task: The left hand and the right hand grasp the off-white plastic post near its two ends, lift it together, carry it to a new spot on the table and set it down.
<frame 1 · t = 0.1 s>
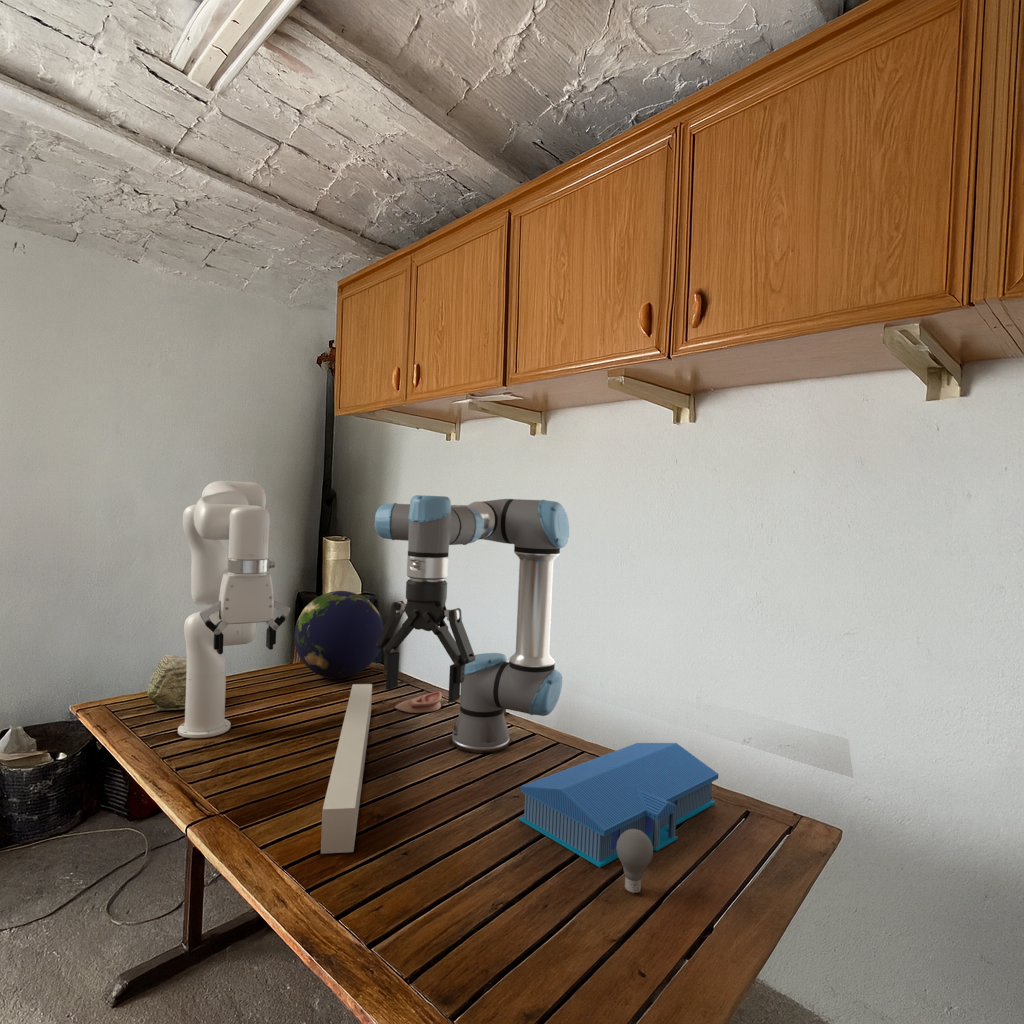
left hand: (245, 650, 130), 31 cm above the table, tool pointing down, fingers open, 9 cm apart
right hand: (422, 694, 117), 28 cm above the table, tool pointing down, fingers open, 13 cm apart
globe: (338, 677, 220), on the table
light bulb: (632, 891, 106), on the table
anatomical model: (418, 707, 193), on the table
model building: (626, 814, 132), on the table
fossil: (183, 706, 185), on the table
post: (352, 764, 150), on the table
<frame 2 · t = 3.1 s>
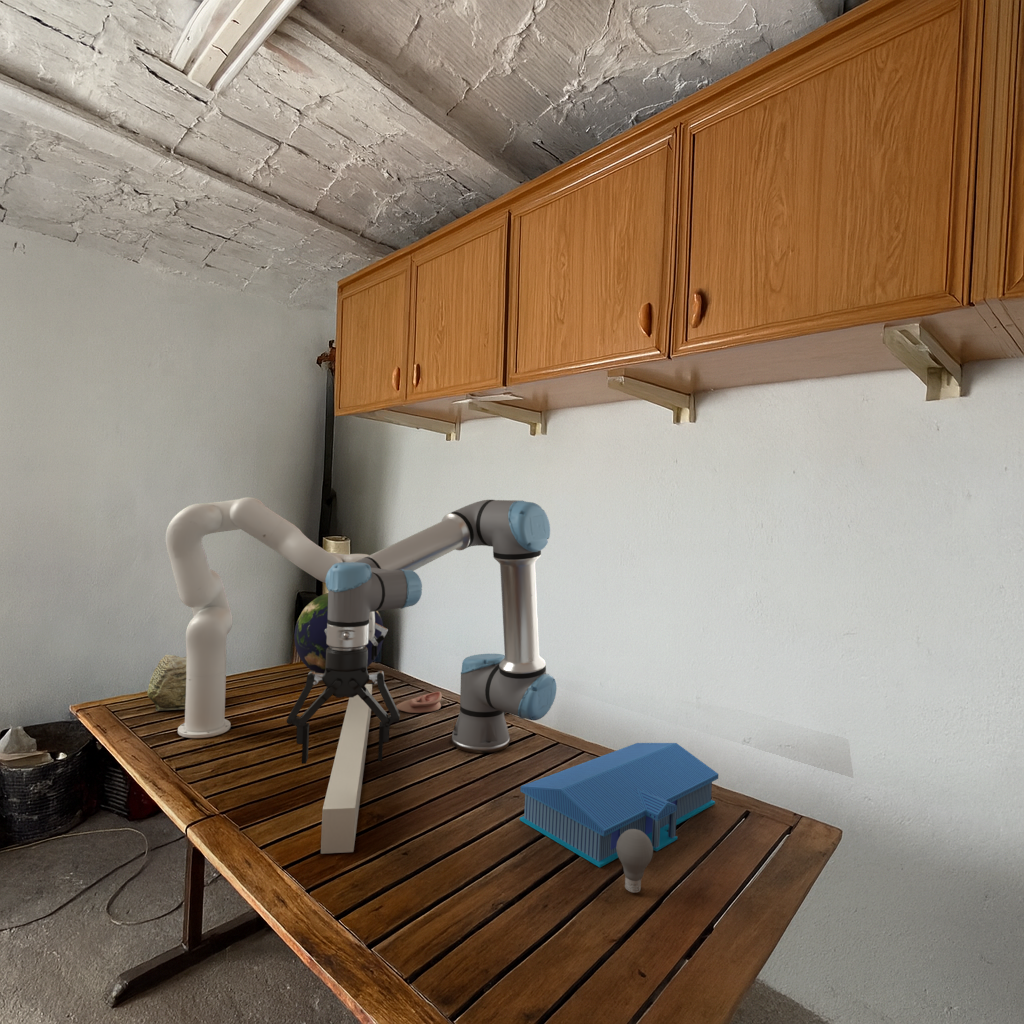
left hand: (355, 659, 177), 18 cm above the table, tool pointing down, fingers open, 9 cm apart
right hand: (342, 759, 118), 15 cm above the table, tool pointing down, fingers open, 13 cm apart
nothing on the table moved.
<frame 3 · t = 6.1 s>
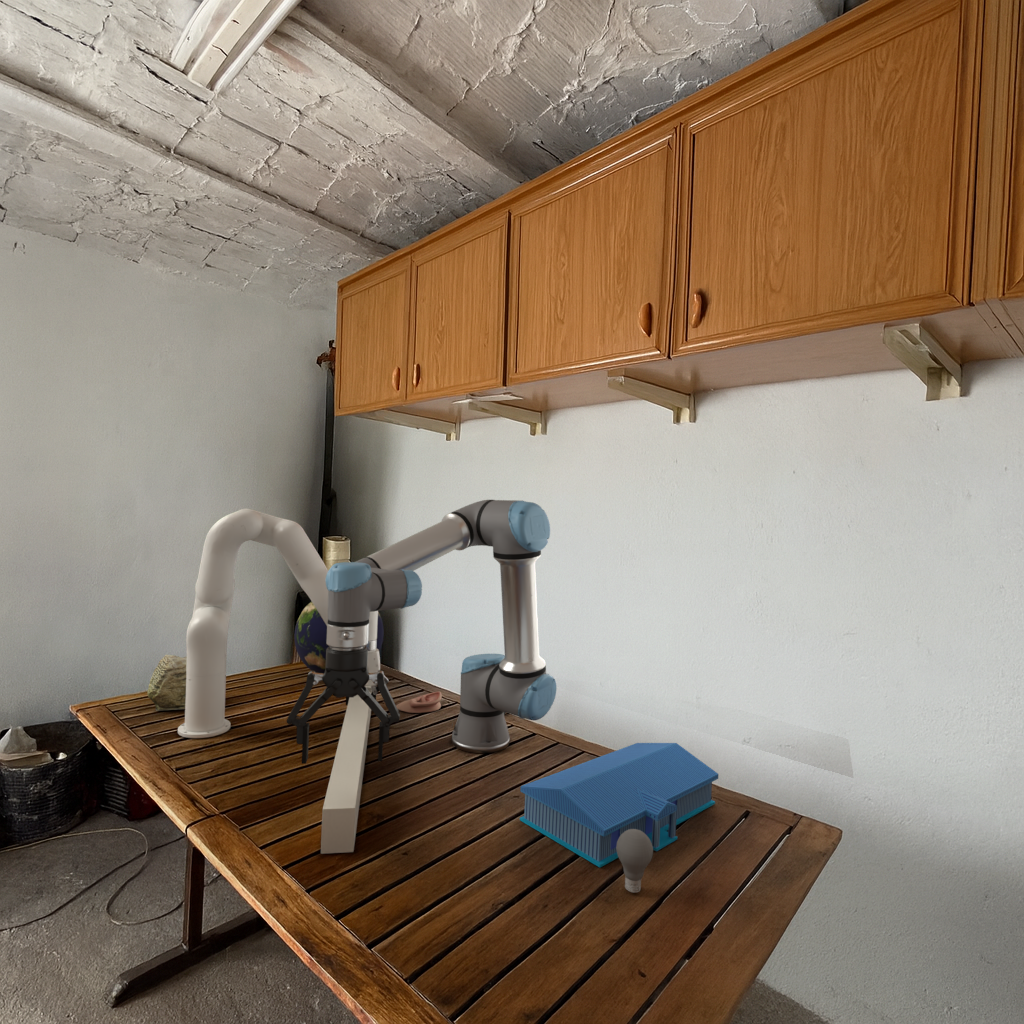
left hand: (360, 706, 183), 3 cm above the table, tool pointing down, fingers closed on post, 5 cm apart
right hand: (342, 759, 118), 15 cm above the table, tool pointing down, fingers open, 13 cm apart
post: (352, 764, 150), on the table, touching left hand
everything else where it was.
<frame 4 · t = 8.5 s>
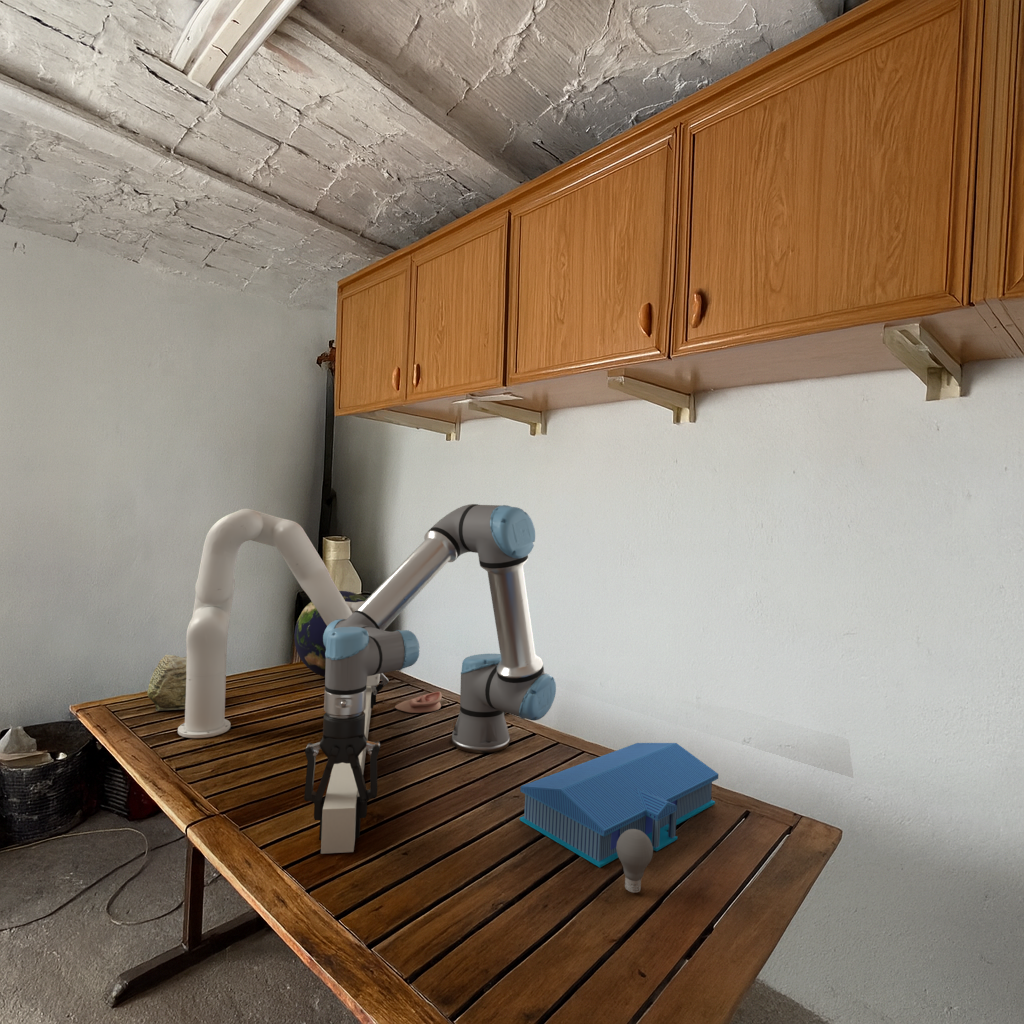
left hand: (360, 706, 183), 3 cm above the table, tool pointing down, fingers closed on post, 5 cm apart
right hand: (339, 834, 118), 1 cm above the table, tool pointing down, fingers closed on post, 6 cm apart
post: (352, 764, 150), on the table, touching left hand, right hand
everything else where it was.
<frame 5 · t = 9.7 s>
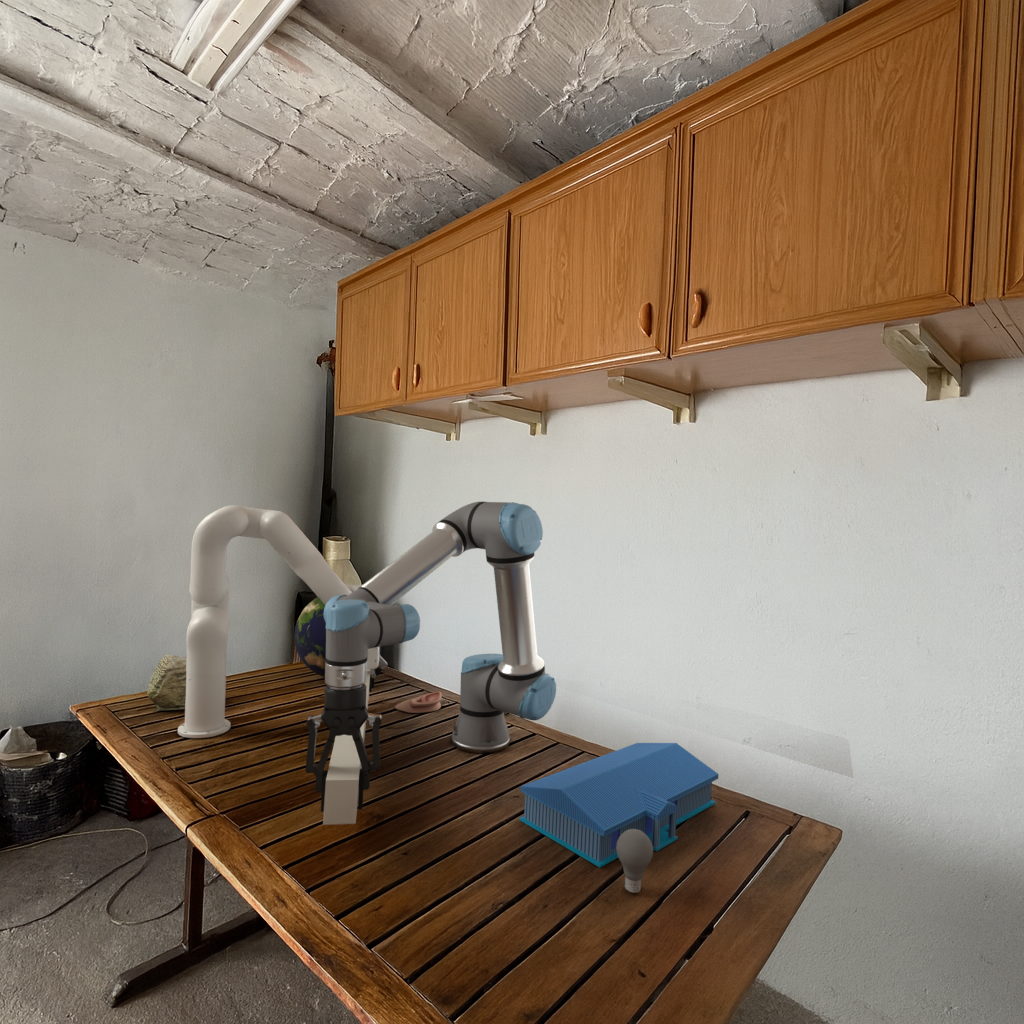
left hand: (359, 689, 183), 8 cm above the table, tool pointing down, fingers closed on post, 5 cm apart
right hand: (342, 806, 118), 6 cm above the table, tool pointing down, fingers closed on post, 6 cm apart
post: (351, 743, 150), point 5 cm above the table, touching left hand, right hand
everything else where it was.
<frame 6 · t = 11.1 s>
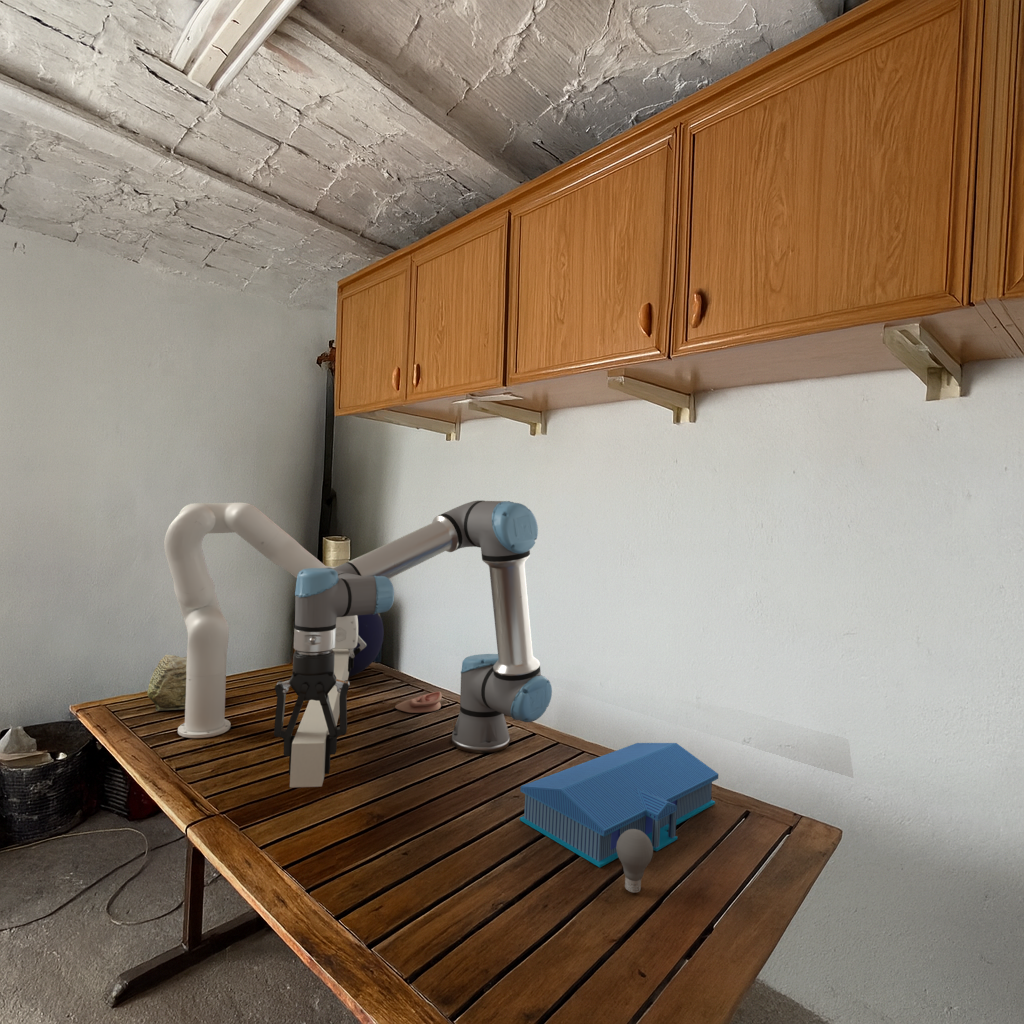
left hand: (338, 669, 185), 13 cm above the table, tool pointing down, fingers closed on post, 5 cm apart
right hand: (309, 771, 120), 11 cm above the table, tool pointing down, fingers closed on post, 6 cm apart
post: (326, 717, 153), point 10 cm above the table, touching left hand, right hand
everything else where it was.
when the right hand's fingers open (2 cm above the table, at t = 13.6 s): post drops 1 cm, on the table.
when the left hand's fingers open (4 cm above the table, at t = 13.7 s): post stays where it is, on the table.
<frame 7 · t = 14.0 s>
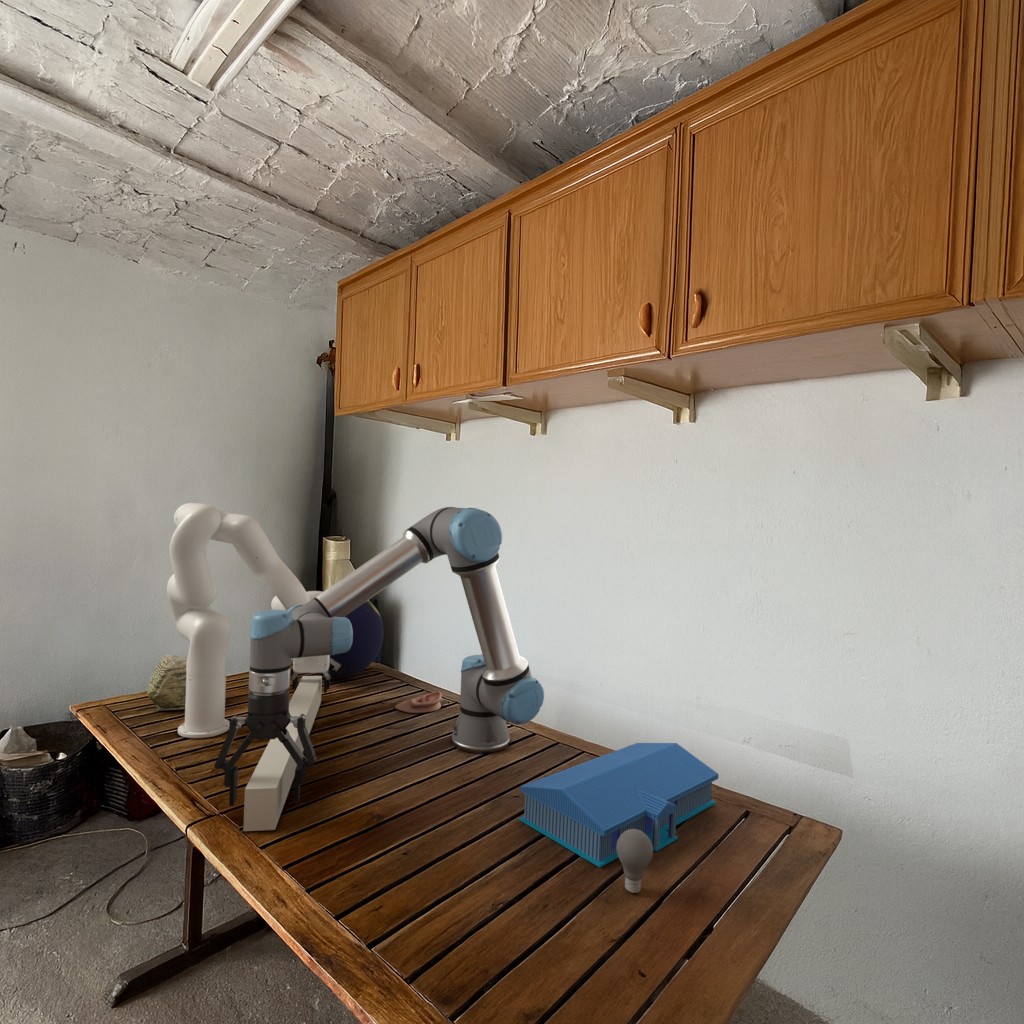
left hand: (310, 691, 189), 5 cm above the table, tool pointing down, fingers open, 8 cm apart
right hand: (265, 801, 124), 3 cm above the table, tool pointing down, fingers open, 11 cm apart
post: (291, 751, 156), on the table
everything else where it was.
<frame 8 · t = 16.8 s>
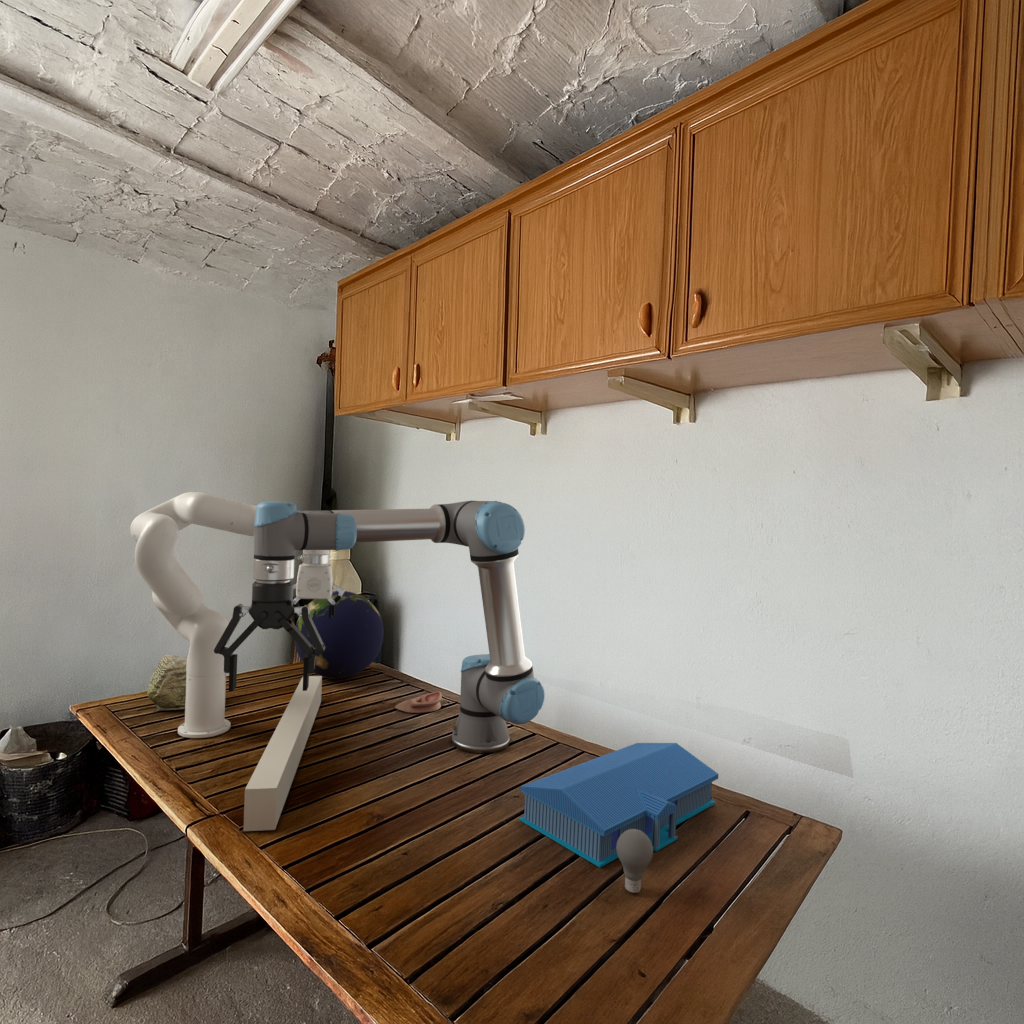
left hand: (313, 617, 188), 27 cm above the table, tool pointing down, fingers open, 9 cm apart
right hand: (269, 689, 124), 25 cm above the table, tool pointing down, fingers open, 13 cm apart
nothing on the table moved.
at the end: post inside the target area (0.1 cm from its centre), on the table; post tilted 0°; post never tilted more than 2° during the clip; both hands held the post at the same time; the left hand is holding nothing; the right hand is holding nothing; post at rest at the end (0.0 cm/s) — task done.
